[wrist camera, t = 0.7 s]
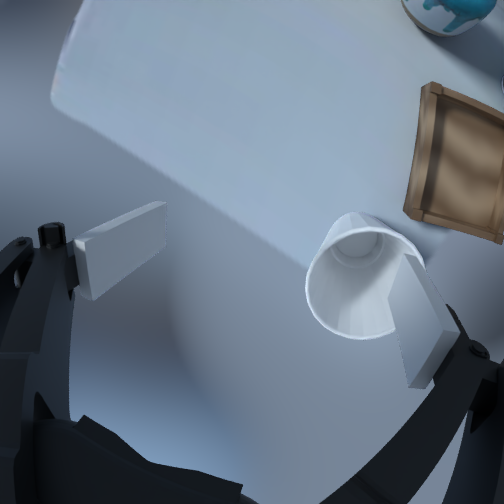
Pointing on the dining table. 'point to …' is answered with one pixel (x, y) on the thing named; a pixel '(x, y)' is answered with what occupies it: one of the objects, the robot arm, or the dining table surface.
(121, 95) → the dining table surface
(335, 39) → the dining table surface
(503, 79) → the pill bottle
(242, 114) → the dining table surface
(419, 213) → the crate
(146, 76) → the dining table surface
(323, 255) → the cup
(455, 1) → the vase
